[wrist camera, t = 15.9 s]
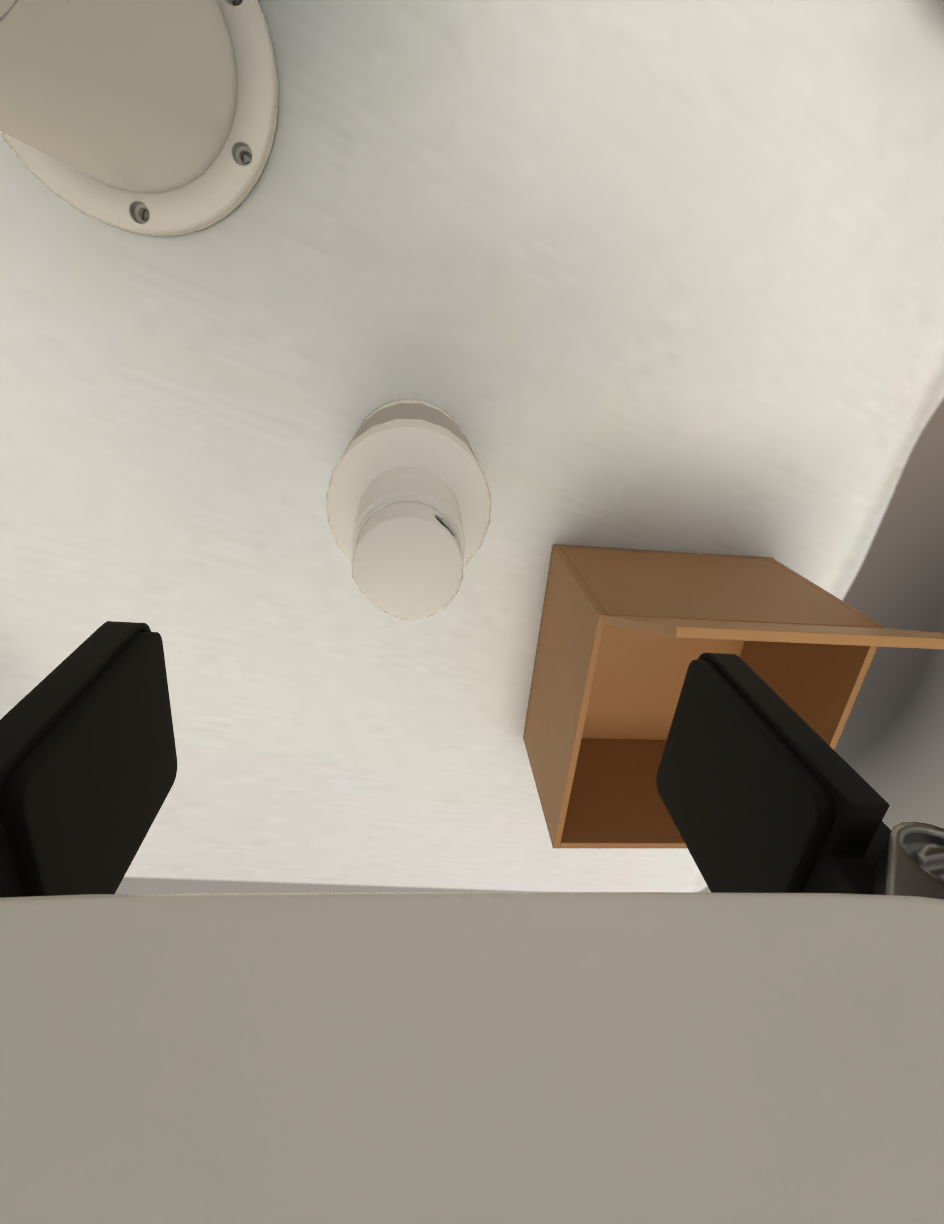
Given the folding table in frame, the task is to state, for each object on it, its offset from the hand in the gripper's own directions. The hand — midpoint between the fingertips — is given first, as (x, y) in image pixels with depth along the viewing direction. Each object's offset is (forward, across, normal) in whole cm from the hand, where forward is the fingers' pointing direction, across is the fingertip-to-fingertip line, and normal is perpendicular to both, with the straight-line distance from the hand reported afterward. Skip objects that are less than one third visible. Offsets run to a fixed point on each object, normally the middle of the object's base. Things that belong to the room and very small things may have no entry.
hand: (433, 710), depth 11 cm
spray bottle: (+26, 0, +1) cm, 26 cm away
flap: (+12, -16, +4) cm, 20 cm away
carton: (+26, -16, +12) cm, 33 cm away
